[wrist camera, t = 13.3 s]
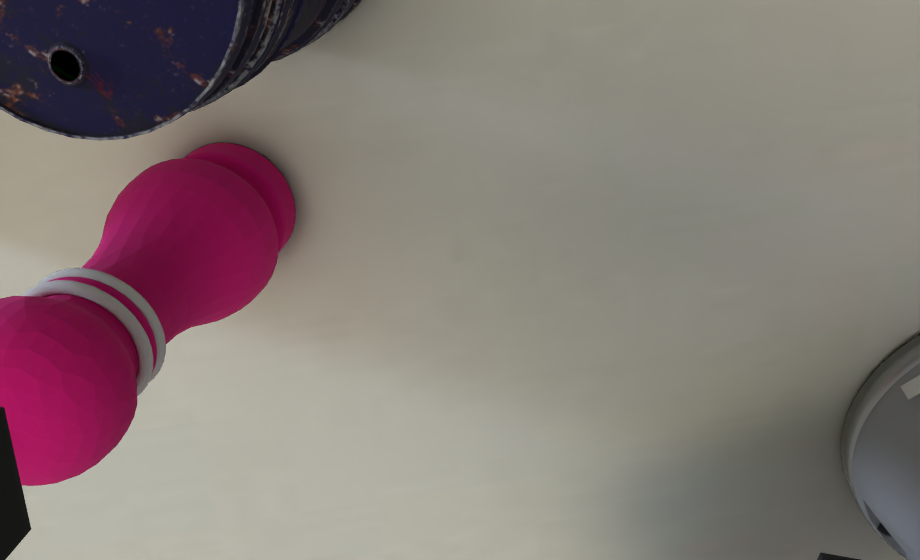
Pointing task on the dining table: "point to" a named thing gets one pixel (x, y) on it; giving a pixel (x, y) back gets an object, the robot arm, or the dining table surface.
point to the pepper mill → (135, 302)
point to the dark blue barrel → (142, 57)
